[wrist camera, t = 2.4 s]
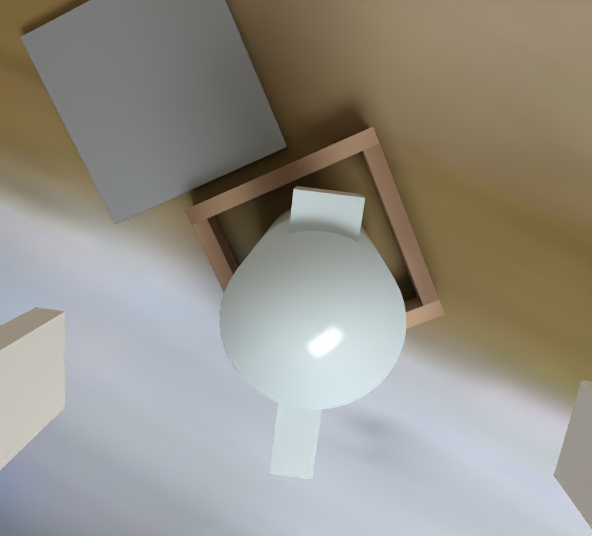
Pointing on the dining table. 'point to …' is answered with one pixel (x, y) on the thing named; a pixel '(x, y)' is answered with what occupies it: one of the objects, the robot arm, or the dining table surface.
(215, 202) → the frame
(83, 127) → the coaster
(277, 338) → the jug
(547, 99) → the dining table surface
